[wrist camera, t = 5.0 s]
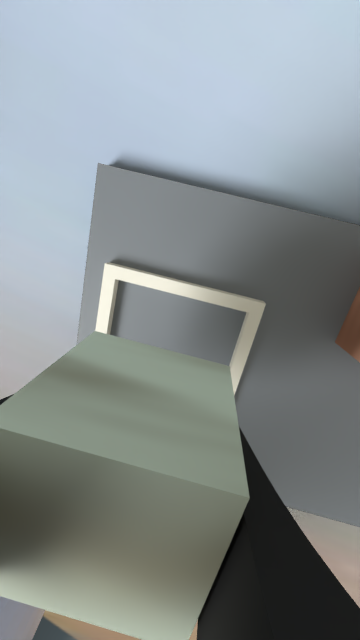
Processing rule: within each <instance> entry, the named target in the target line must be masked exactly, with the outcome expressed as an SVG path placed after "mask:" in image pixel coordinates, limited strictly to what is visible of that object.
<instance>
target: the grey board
mask: <svg viewBox="0 0 360 640" xmlns="http://www.w3.org/2000/svg"><path fill="white" fill-rule="evenodd" d="M359 287H360V225H357V224H353V223H348V222H344V221H340V220H336V219H332V218H327V217H323V216H319V215H315V214H311V213H306V212H302V211H298V210H294V209H289V208H285V207H281V206H277V205H273V204H268V203H264V202H260V201H256V200H252V199H247V198H243V197H239V196H235V195H231V194H226V193H222V192H218V191H214V190H210V189H205V188H201V187H197V186H193V185H188V184H184V183H180V182H176V181H172V180H167V179H163V178H159V177H155V176H151V175H146V174H142V173H138V172H134V171H130V170H125V169H121V168H117V167H113V166H108V165H104V164H100V163H98V167H97V176H96V184H95V193H94V201H93V210H92V218H91V226H90V235H89V243H88V252H87V260H86V269H85V277H84V286H83V294H82V303H81V311H80V320H79V328H78V337H77V345H78V344H79V343H80V342H81V341H83V340H84V339H85V338H87V337H88V336H89V335H90V334H92V333H93V332H94V331H97V332H101V333H105V334H109V335H113V336H116V337H120V338H124V339H128V340H132V341H135V342H139V343H143V344H147V345H151V346H155V347H158V348H162V349H166V350H170V351H174V352H177V353H181V354H185V355H189V356H193V357H197V358H200V359H204V360H208V361H212V362H216V363H220V364H223V365H227V366H230V372H231V378H232V385H233V392H234V398H235V405H236V411H237V418H238V424H239V427H240V428H241V430H242V432H243V434H244V436H245V438H246V439H247V441H248V443H249V445H250V447H251V449H252V450H253V452H254V454H255V456H256V458H257V459H258V461H259V463H260V465H261V467H262V468H263V470H264V472H265V473H266V475H267V477H268V478H269V480H270V482H271V483H272V485H273V487H274V489H275V490H276V492H277V493H278V495H279V497H280V498H281V500H282V501H283V503H284V505H285V506H286V507H289V508H293V509H296V510H300V511H304V512H307V513H311V514H314V515H318V516H322V517H325V518H329V519H332V520H336V521H339V522H343V523H347V524H350V525H354V526H357V527H360V362H358V361H357V360H356V359H355V358H353V357H352V356H351V355H350V354H349V353H347V352H346V351H345V350H344V349H342V348H341V347H340V346H339V345H338V344H336V343H335V340H336V338H337V336H338V334H339V332H340V329H341V327H342V325H343V323H344V321H345V318H346V316H347V314H348V312H349V310H350V307H351V305H352V303H353V301H354V298H355V296H356V294H357V292H358V290H359Z"/></svg>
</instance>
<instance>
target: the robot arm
mask: <svg viewBox="0 0 360 640" xmlns="http://www.w3.org/2000/svg"><path fill="white" fill-rule="evenodd" d="M13 395H14V394H13ZM13 395H11V396H13ZM11 396H8V397H6V398H3V399H1V400H0V405H1V404H2V403H4V402H5V401H6V400H7V399H9V398H10V397H11ZM239 431H240V438H241V444H242V451H243V457H244V464H245V470H246V477H247V484H248V490H249V497H250V498H249V501H248V503H247V505H246V508H245V510H244V512H243V515H242V517H241V519H240V522H239V524H238V526H237V529H236V531H235V533H234V536H233V538H232V540H231V543H230V545H229V547H228V550H227V552H226V554H225V557H224V559H223V561H222V564H221V566H220V568H219V570H218V573H217V575H216V577H215V580H214V582H213V584H212V587H211V589H210V591H209V594H208V596H207V598H206V601H205V603H204V605H203V608H202V610H201V612H200V615H199V617H198V629H197V640H360V608H359V607H358V606H357V604H356V603H355V602H354V600H353V599H352V598H351V597H350V595H349V594H348V593H347V592H346V590H345V589H344V588H343V586H342V585H341V584H340V582H339V581H338V580H337V578H336V577H335V576H334V574H333V573H332V572H331V570H330V569H329V568H328V566H327V565H326V564H325V562H324V561H323V560H322V558H321V557H320V555H319V554H318V553H317V551H316V550H315V549H314V547H313V546H312V545H311V543H310V542H309V540H308V539H307V537H306V536H305V535H304V533H303V532H302V530H301V529H300V527H299V526H298V524H297V523H296V521H295V520H294V518H293V517H292V515H291V514H290V512H289V511H288V509H287V508H286V506H285V505H284V503H283V501H282V500H281V498H280V497H279V495H278V493H277V492H276V490H275V489H274V487H273V485H272V483H271V482H270V480H269V478H268V477H267V475H266V473H265V472H264V470H263V468H262V467H261V465H260V463H259V461H258V459H257V458H256V456H255V454H254V452H253V450H252V449H251V447H250V445H249V443H248V441H247V439H246V438H245V436H244V434H243V432H242V430H241V428H240V427H239ZM44 611H45V610H44V609H41V608H37V607H34V606H31V605H28V604H24V603H21V602H18V601H14V600H11V599H8V598H5V597H1V596H0V640H32V638H33V636H34V634H35V631H36V629H37V627H38V625H39V623H40V620H41V618H42V616H43V614H44Z"/></svg>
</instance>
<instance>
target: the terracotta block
mask: <svg viewBox="0 0 360 640" xmlns="http://www.w3.org/2000/svg"><path fill="white" fill-rule="evenodd" d="M335 343H336V344H338V345H339V346H340V347H341V348H342V349H344V350H345V351H346V352H347V353H349V354H350V355H351V356H352V357H353V358H355V359H356V360H357V361H358V362H360V287H359V290H358V292H357V294H356V296H355V298H354V301H353V303H352V305H351V307H350V310H349V312H348V314H347V316H346V318H345V321H344V323H343V325H342V327H341V329H340V332H339V334H338V336H337V338H336V340H335Z"/></svg>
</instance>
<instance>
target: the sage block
mask: <svg viewBox="0 0 360 640" xmlns="http://www.w3.org/2000/svg"><path fill="white" fill-rule="evenodd" d="M249 498H250V497H249V490H248V484H247V477H246V470H245V464H244V457H243V451H242V444H241V438H240V431H239V424H238V418H237V411H236V405H235V398H234V392H233V385H232V378H231V372H230V366H227V365H223V364H220V363H216V362H212V361H208V360H204V359H200V358H197V357H193V356H189V355H185V354H181V353H177V352H174V351H170V350H166V349H162V348H158V347H155V346H151V345H147V344H143V343H139V342H135V341H132V340H128V339H124V338H120V337H116V336H113V335H109V334H105V333H101V332H97V331H94V332H93V333H92V334H90V335H89V336H88V337H87V338H85V339H84V340H83V341H81V342H80V343H79V344H78V345H76V346H75V347H74V348H73V349H71V350H70V351H69V352H67V353H66V354H65V355H64V356H62V357H61V358H60V359H58V360H57V361H56V362H55V363H53V364H52V365H51V366H50V367H48V368H47V369H46V370H44V371H43V372H42V373H41V374H39V375H38V376H37V377H36V378H34V379H33V380H32V381H30V382H29V383H28V384H27V385H25V386H24V387H23V388H21V389H20V390H19V391H18V392H16V393H15V394H14V395H13V396H11V397H10V398H9V399H7V400H6V401H5V402H4V403H2V404H1V405H0V596H1V597H5V598H8V599H11V600H14V601H18V602H21V603H24V604H28V605H31V606H34V607H37V608H41V609H44V610H47V611H50V612H54V613H57V614H60V615H64V616H67V617H70V618H73V619H77V620H80V621H83V622H86V623H90V624H93V625H96V626H100V627H103V628H106V629H109V630H113V631H116V632H119V633H123V634H126V635H129V636H132V637H136V638H139V639H142V640H189V638H190V636H191V633H192V631H193V629H194V626H195V624H196V622H197V619H198V617H199V615H200V612H201V610H202V608H203V605H204V603H205V601H206V598H207V596H208V594H209V591H210V589H211V587H212V584H213V582H214V580H215V577H216V575H217V573H218V570H219V568H220V566H221V564H222V561H223V559H224V557H225V554H226V552H227V550H228V547H229V545H230V543H231V540H232V538H233V536H234V533H235V531H236V529H237V526H238V524H239V522H240V519H241V517H242V515H243V512H244V510H245V508H246V505H247V503H248V501H249Z"/></svg>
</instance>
